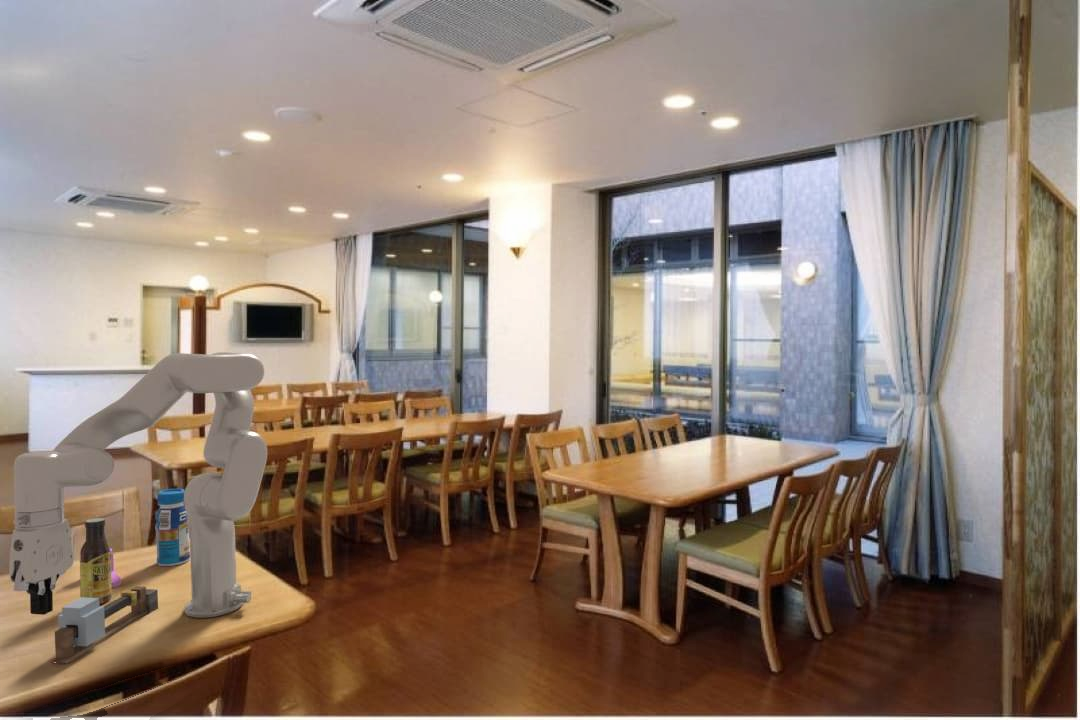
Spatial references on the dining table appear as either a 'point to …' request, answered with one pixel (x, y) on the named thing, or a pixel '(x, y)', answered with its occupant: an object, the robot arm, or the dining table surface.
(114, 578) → the bracket
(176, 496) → the beverage bottle
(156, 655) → the dining table surface
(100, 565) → the sauce bottle
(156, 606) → the stand
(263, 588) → the dining table surface
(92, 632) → the notched grey cube
